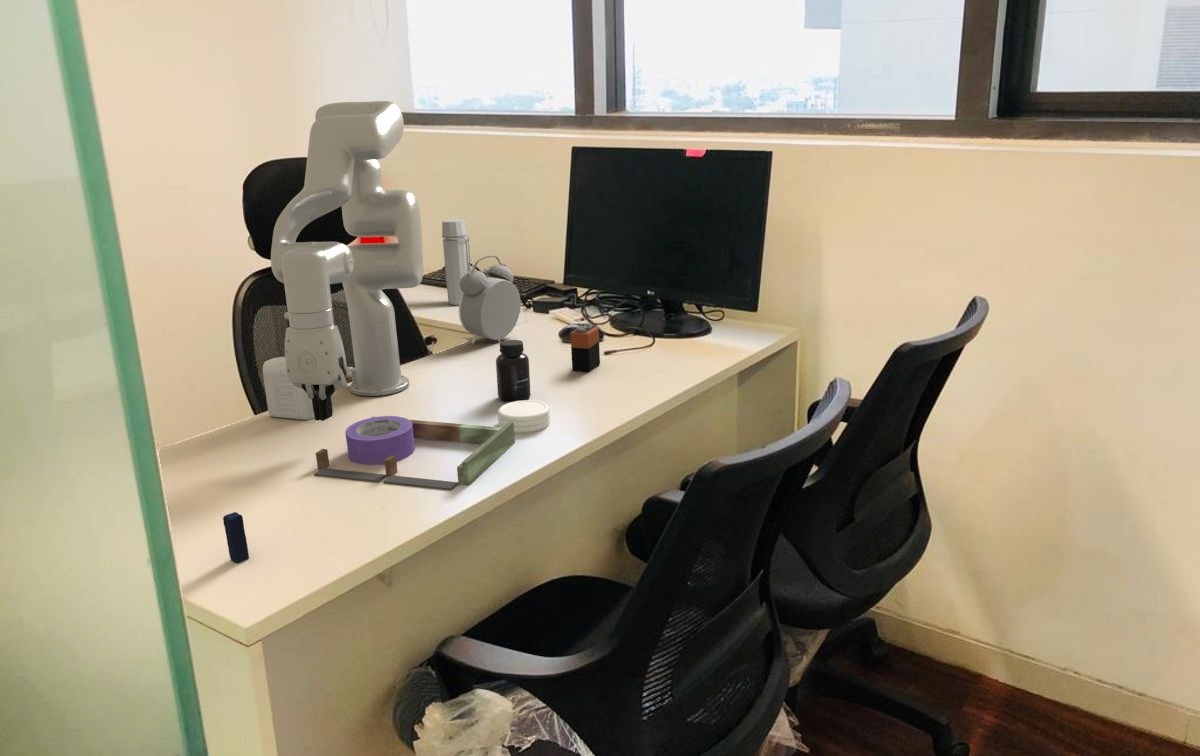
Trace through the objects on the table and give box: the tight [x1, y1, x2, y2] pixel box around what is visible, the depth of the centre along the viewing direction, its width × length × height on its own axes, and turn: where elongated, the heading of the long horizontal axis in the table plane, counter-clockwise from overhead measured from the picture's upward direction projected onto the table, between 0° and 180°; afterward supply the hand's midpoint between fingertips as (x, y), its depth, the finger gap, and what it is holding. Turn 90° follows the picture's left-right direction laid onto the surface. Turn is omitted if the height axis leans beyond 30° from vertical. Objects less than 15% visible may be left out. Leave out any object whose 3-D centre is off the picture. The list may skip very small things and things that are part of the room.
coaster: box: [497, 399, 551, 434], centre depth 177 cm, size 10×10×4 cm
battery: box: [570, 322, 601, 373], centre depth 209 cm, size 4×7×10 cm, turn 157°
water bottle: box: [441, 218, 476, 307], centre depth 274 cm, size 9×8×25 cm
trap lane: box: [315, 416, 516, 486], centre depth 163 cm, size 29×19×4 cm, turn 72°
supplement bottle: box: [495, 339, 531, 403], centre depth 190 cm, size 7×7×12 cm
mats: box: [314, 467, 459, 491], centre depth 154 cm, size 26×2×1 cm, turn 72°
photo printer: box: [262, 356, 315, 421], centre depth 184 cm, size 10×4×12 cm, turn 72°
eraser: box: [222, 511, 250, 564], centre depth 129 cm, size 2×2×7 cm
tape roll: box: [344, 415, 416, 466], centre depth 165 cm, size 12×12×5 cm
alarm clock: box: [458, 255, 522, 344], centre depth 233 cm, size 16×9×22 cm, turn 144°
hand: (323, 418), depth 167 cm, fingers closed
